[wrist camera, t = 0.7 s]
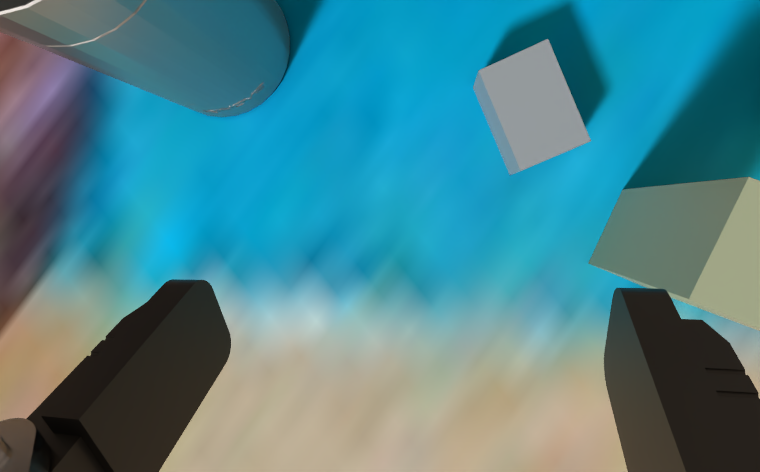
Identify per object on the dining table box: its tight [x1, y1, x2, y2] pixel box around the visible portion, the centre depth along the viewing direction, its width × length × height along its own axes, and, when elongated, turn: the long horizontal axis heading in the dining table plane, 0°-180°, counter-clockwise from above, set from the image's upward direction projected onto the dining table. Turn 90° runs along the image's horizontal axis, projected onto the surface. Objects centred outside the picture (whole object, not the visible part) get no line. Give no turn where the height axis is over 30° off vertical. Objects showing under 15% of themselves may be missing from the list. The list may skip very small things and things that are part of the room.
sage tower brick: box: [589, 177, 760, 331], centre depth 24 cm, size 5×5×12 cm
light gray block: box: [473, 39, 591, 175], centre depth 28 cm, size 6×4×4 cm, turn 23°
